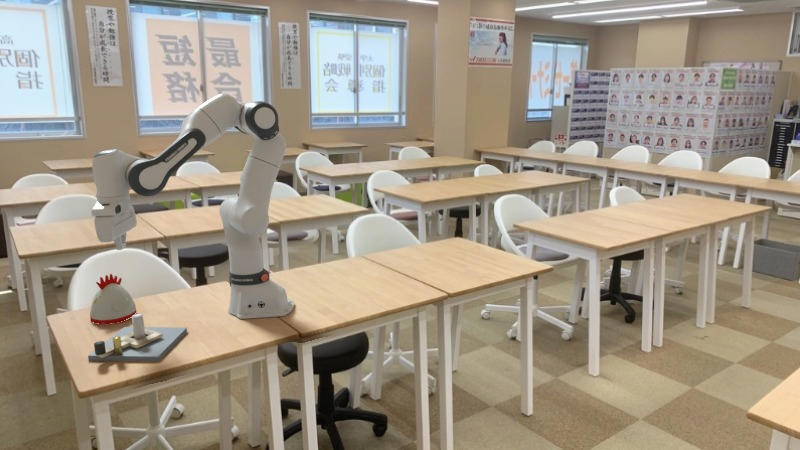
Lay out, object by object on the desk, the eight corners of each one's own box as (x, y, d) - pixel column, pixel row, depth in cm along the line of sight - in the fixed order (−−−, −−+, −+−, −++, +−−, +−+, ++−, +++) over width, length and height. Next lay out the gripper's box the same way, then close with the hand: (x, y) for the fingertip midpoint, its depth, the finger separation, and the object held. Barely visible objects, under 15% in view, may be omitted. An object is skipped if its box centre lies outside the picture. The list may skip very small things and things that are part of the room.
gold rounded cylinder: (123, 352, 157) (121, 336, 156) (120, 355, 155) (118, 339, 154) (117, 352, 157) (114, 336, 156) (113, 355, 155) (111, 339, 154)
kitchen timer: (82, 318, 185) (76, 276, 182) (122, 306, 197) (117, 265, 193) (105, 328, 178) (99, 284, 174) (144, 314, 189) (140, 272, 186)
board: (187, 331, 175) (184, 303, 173) (158, 361, 155) (155, 330, 153) (124, 331, 175) (121, 303, 173) (88, 360, 156) (84, 329, 154)
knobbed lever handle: (142, 330, 171) (141, 318, 170) (163, 336, 167) (161, 324, 166) (86, 354, 155) (84, 341, 154) (107, 361, 151) (105, 348, 150)
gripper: (118, 198, 175) (124, 240, 178) (88, 212, 155) (95, 259, 159) (138, 197, 175) (144, 239, 179) (111, 211, 156) (118, 257, 159)
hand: (121, 248), depth 169 cm, fingers closed
